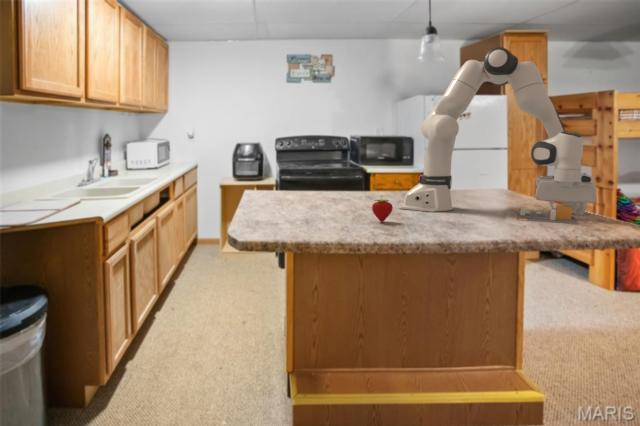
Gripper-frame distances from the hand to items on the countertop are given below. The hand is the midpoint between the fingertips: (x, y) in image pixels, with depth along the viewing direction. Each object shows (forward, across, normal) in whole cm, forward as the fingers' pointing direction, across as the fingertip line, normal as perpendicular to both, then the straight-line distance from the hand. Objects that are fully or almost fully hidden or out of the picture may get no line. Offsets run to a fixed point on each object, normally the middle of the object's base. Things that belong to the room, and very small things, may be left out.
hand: (563, 213), depth 182 cm
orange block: (+2, 0, 0) cm, 2 cm away
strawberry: (+3, -62, -28) cm, 68 cm away
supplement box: (+3, +5, +14) cm, 15 cm away
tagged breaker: (+2, -4, -6) cm, 7 cm away
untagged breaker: (+2, -14, 0) cm, 14 cm away
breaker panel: (+3, -6, -3) cm, 7 cm away
